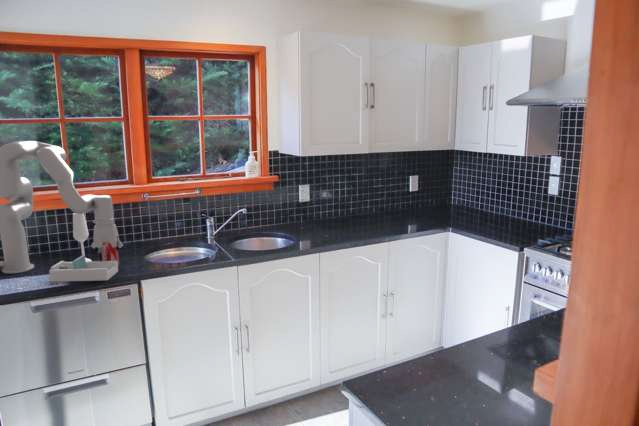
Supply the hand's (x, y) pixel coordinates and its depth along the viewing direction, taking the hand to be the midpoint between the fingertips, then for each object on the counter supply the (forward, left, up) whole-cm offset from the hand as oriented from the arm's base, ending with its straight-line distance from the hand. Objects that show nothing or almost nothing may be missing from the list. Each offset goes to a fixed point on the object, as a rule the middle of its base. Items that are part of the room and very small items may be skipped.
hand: (108, 260), depth 216 cm
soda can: (+1, 0, -4) cm, 4 cm away
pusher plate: (-8, -12, -2) cm, 14 cm away
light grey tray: (-6, -12, -4) cm, 14 cm away
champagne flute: (-17, +11, -4) cm, 20 cm away
